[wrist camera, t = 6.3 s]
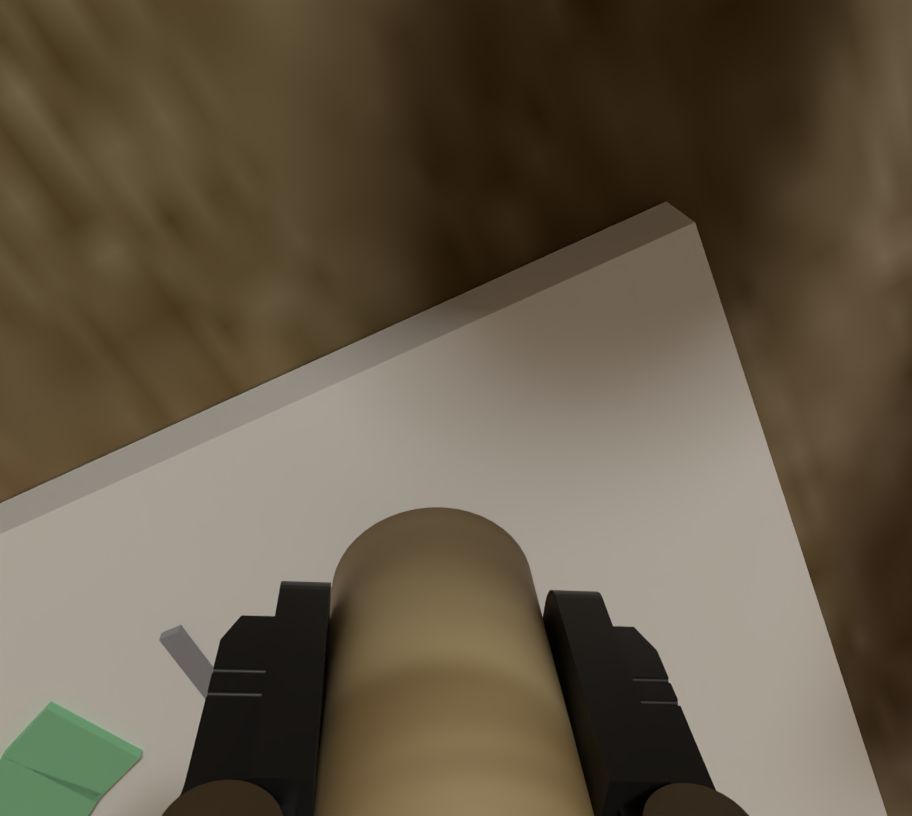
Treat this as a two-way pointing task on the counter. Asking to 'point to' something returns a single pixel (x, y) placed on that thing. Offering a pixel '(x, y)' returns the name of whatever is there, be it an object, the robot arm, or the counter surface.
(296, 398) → the dial panel
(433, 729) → the tuning dial
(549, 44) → the counter surface
